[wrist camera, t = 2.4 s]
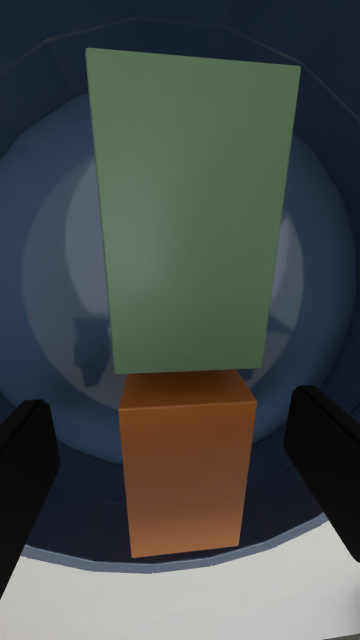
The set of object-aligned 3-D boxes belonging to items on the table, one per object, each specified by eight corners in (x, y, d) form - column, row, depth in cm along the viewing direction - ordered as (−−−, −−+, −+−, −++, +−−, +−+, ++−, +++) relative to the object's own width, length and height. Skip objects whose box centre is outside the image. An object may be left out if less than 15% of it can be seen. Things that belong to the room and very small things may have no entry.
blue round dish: (-118, 46, 7) (-575, -292, 3) (410, 88, 8) (665, -77, 4) (11, 479, 12) (-69, 601, 8) (318, 454, 14) (390, 545, 10)
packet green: (128, 167, 8) (82, 44, 3) (220, 171, 8) (303, 63, 4) (136, 314, 10) (114, 375, 5) (212, 312, 10) (262, 369, 5)
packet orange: (137, 333, 10) (117, 409, 5) (211, 331, 10) (258, 401, 5) (142, 432, 12) (131, 559, 7) (206, 427, 12) (239, 546, 7)
